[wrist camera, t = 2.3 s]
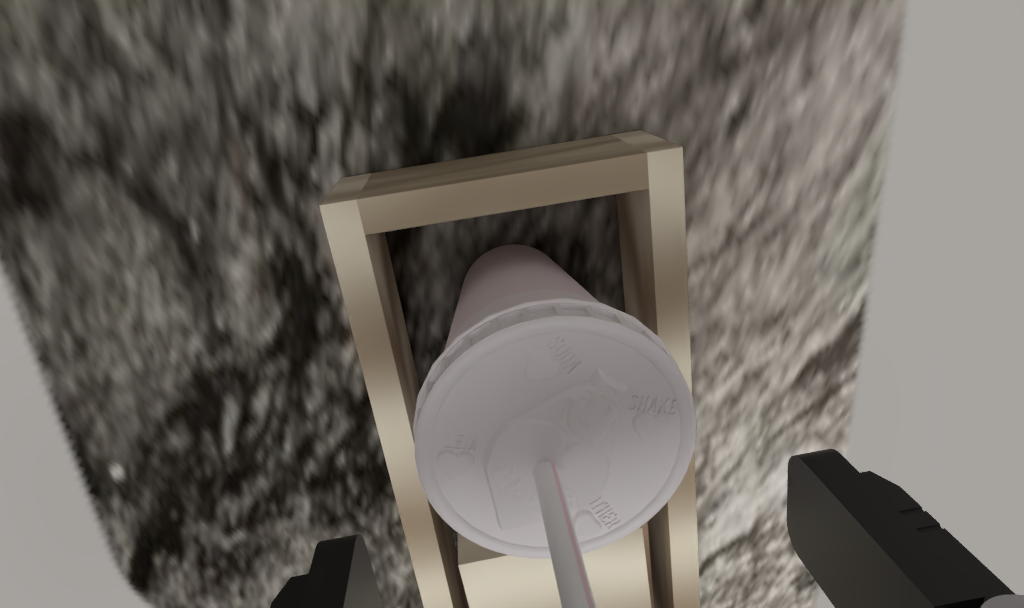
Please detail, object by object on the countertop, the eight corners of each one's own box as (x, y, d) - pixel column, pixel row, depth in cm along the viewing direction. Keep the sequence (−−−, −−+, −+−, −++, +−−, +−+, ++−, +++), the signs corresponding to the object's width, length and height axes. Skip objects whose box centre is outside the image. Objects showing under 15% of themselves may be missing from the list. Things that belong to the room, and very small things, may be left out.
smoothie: (390, 322, 23) (321, 678, 10) (485, 169, 21) (554, 357, 8) (537, 400, 25) (642, 787, 12) (635, 265, 23) (885, 541, 10)
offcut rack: (340, 177, 21) (319, 205, 17) (640, 130, 21) (682, 146, 18) (457, 654, 29) (459, 743, 25) (670, 614, 30) (703, 694, 26)
